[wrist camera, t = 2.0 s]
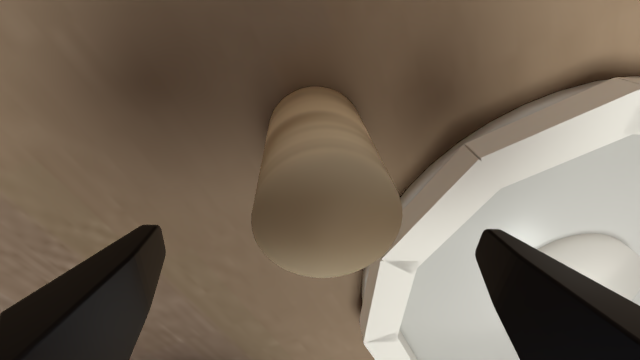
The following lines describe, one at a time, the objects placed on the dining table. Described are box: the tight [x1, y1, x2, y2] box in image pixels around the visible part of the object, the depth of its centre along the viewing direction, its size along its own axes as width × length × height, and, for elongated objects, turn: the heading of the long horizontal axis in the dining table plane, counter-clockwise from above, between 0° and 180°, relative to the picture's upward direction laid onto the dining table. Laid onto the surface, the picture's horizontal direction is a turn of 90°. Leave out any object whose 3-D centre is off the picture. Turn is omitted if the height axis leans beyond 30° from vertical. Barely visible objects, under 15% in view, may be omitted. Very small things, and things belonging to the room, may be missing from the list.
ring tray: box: [359, 76, 640, 360], centre depth 21 cm, size 25×25×2 cm
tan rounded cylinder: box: [251, 86, 403, 278], centre depth 13 cm, size 4×4×7 cm
